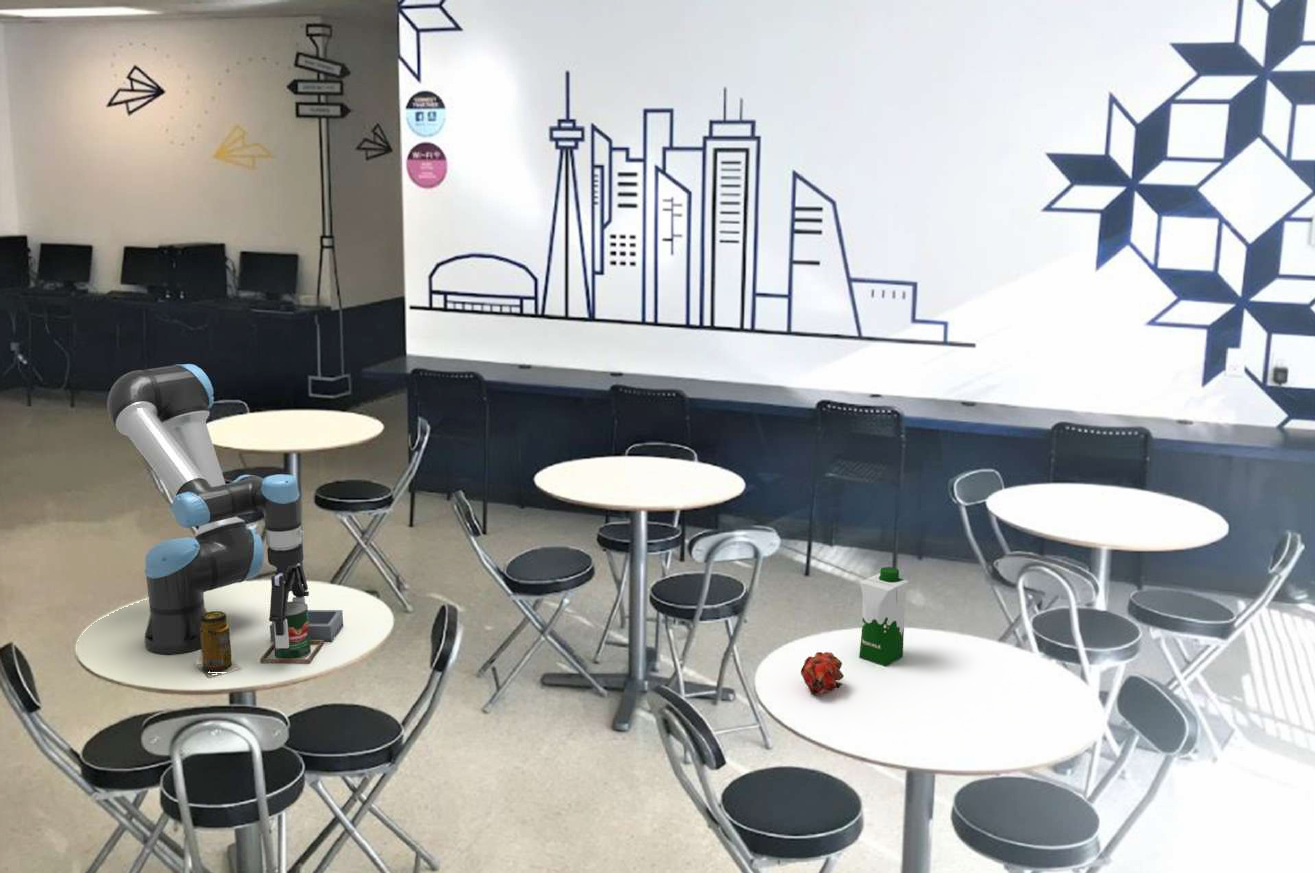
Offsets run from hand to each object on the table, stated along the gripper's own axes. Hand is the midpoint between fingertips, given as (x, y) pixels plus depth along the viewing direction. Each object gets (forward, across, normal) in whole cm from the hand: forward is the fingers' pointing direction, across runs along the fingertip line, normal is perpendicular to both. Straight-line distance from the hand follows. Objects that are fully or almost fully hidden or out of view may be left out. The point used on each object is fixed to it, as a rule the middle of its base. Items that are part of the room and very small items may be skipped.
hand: (291, 635), depth 275 cm
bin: (+4, +11, 0) cm, 12 cm away
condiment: (+4, -8, +14) cm, 17 cm away
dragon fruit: (+4, -17, -117) cm, 118 cm away
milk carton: (+4, 0, -132) cm, 132 cm away
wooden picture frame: (+4, 0, 0) cm, 4 cm away
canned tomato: (+4, 0, 0) cm, 4 cm away
